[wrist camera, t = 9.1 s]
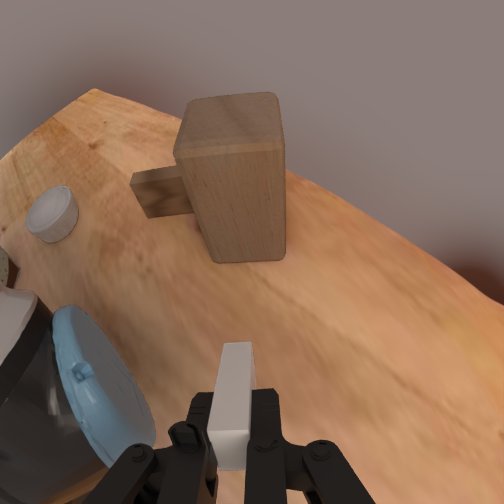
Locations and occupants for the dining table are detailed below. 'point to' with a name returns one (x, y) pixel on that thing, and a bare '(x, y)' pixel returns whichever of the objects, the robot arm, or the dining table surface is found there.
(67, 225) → the ramekin
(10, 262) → the food container
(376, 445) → the dining table surface
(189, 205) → the board
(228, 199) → the block
